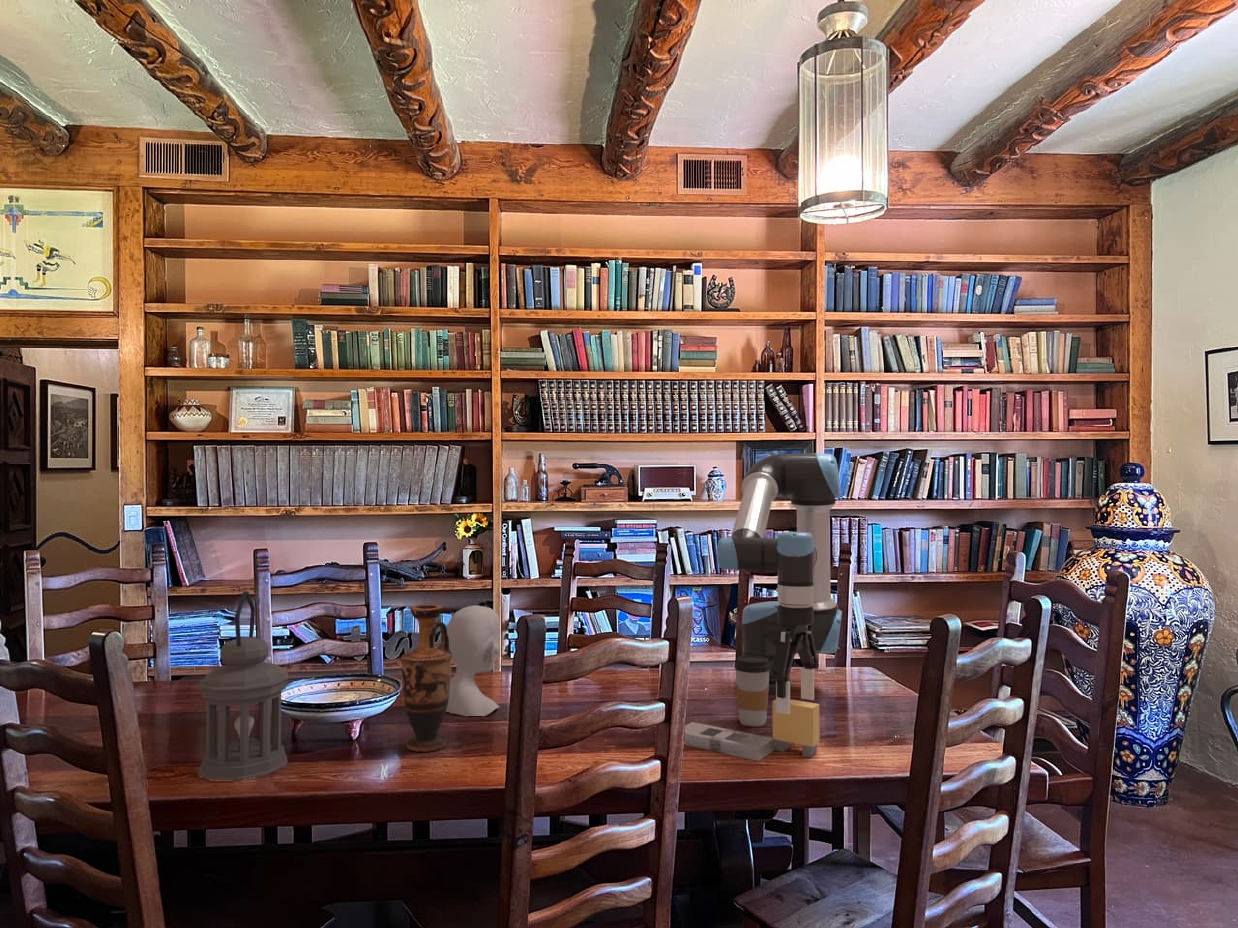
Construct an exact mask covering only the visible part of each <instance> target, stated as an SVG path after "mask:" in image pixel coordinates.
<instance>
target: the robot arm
mask: <svg viewBox="0 0 1238 928" xmlns="http://www.w3.org/2000/svg"><path fill="white" fill-rule="evenodd" d="M839 474H840V473H839V467H838V462H837V458H836V457H835V456H834V454H832V453H823V452H807V453H804V452H803V453H802V452H801V453H799V452H798V453H775V454H770V455H768V456H766V457H764V458H761V459H759V460H758V461H757V462H756V463H754V464H753V465H752V466H751V467H750V468H749V469H748V470H747V472H746V473H745V474H744V477H743V480H742V482H741V486H740V487H741V488H740V489H741V494H742V496H741V501H740V504H739V507H738V511H737V514H736V518H735V522H734V524H733V528H732V531H731V535H730V536H724V537H720V539H718V542H717V549H716V550H717V551H716V556H717V565H718V566H719V568H721V569H722V570H728V571H729V570H730V571H731V570H732V571H735V572H737V571H749V572H755V571H756V572H774V573H775V572H777V587H776V589H775V591H776V592H777V600H776V601H774V600H773V601H762V602H761V601H760V602H755V603H751V604H748V605H746V606H744V608H743V609H742V620H741V625H742V627H741V628H742V629H741V630H742V632H741V633H742V634H741V636H742V639H741V641H742V648H741V649H742V655H741V656H761V657H765V658H767V659H768V663H769V664H770V671H769V692H768V695H775V696H776V697H775V700H776V712H777V713H782V714H788V715H789V714H790V699H791V690H792V686H793V684H792V678H791V670H792V667H793V663H794V660H795V657H796V656H795V655H798V656H799V661H800V662H801V665H802V667H801V668H800V699H803V700H809V701H814V700H815V670H818V669H819V658H818V654H820V655H821V654H833V653H835V652H836V651H837V650H838V646H839V639H840V633H841V624H842V616H843V611H842V610H840V609H837V602H836V601H835V600H834V599H833V598H832V597H831V586H832V585H831V523H830V521H831V519H830V518H831V517H830V516H831V515H830V511H831V509H832V508H833V507H834V506H835V505H836V499H839V498H840V497H841V495H842V490H841V479H840V475H839ZM778 497H784V498H790V504H791V506H792V507H794V509H795V510H796V531H783V532H780V533H779V534H778V536H777V538H773V537H770V538H767V537H765V535H766V530H767V525H768V520H769V516H770V513H771V512H770V511H771V508H772V507H771V506H772V504H773V503H772V502H773V501H774V500H775V499H776V498H778Z"/></svg>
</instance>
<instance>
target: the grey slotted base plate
mask: <svg viewBox="0 0 1238 928" xmlns="http://www.w3.org/2000/svg"><path fill="white" fill-rule="evenodd" d="M684 726H685V745H684V746H688V747H692V748H696V749H701V750H706V751H711V752H714V753H719V754H725V755H728V756H734V757H737V758H742V759H747V760H753V761H756V762H760V761H761V760H762V759H764V758H765V757H767V756H768V755H770V754H771V753H772V752H774V751H776V750H775V738H773V737H770V736H764V735H759V734H755V733H749V732H746V731H745V732H744V731H740V730H734V729H730V728H725V727H720V726H719V727H718V726H714V725H709V724H704V723H697V722H693V721H692V722H689V723H687V724H685V725H684Z"/></svg>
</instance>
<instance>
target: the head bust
mask: <svg viewBox="0 0 1238 928" xmlns="http://www.w3.org/2000/svg"><path fill="white" fill-rule="evenodd" d="M446 627H447V632H448V637H449V648H450V651H451V653H452V662H453V663H454V664H455V667H456V671H455V674H454V675H453V677H451V681H450V693H449V700H448V705H447V709H446V712H449V713H448V714H454V715H459V716H464V717H468V716H482V717H485V716H488V715H490V714H491V713H493V712H494V711H495V710H496V709H499V708H500V706H499V705H498V704H497V702H496V701H494V700H493V699H491V698H489V697H488V696H485V695H484V694H483V693H482V692H481V690H480V689H479V687H478V686H477V684H476V682H475V678H474V677H475V675H476V674H478V673H490V672H492V670H493V669H494V663H495V661H496V658H497V655H498V654H499V653H500V649H501V648H500V645H499V644H498V641H499V638H500V631H499V630H500V618H499V615H498V614H497V613H496V611H494V609H492V608H490V607H488V606H482V605H474V604H473V605H470V606H466V607H463V608H461V609H459V610H457V611H456V612H455V613H454V614H452V616H451V618H450V620H449V621H448V624H447V626H446Z"/></svg>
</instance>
